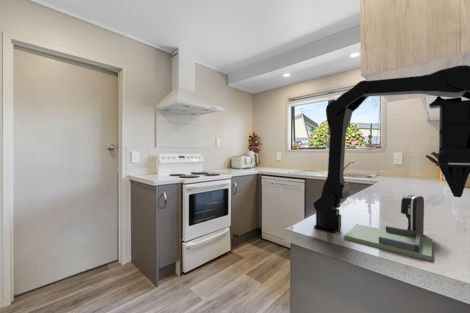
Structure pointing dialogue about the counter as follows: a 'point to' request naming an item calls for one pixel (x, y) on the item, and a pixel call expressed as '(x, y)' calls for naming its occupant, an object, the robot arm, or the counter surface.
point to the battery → (414, 212)
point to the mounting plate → (392, 240)
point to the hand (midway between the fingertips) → (455, 193)
